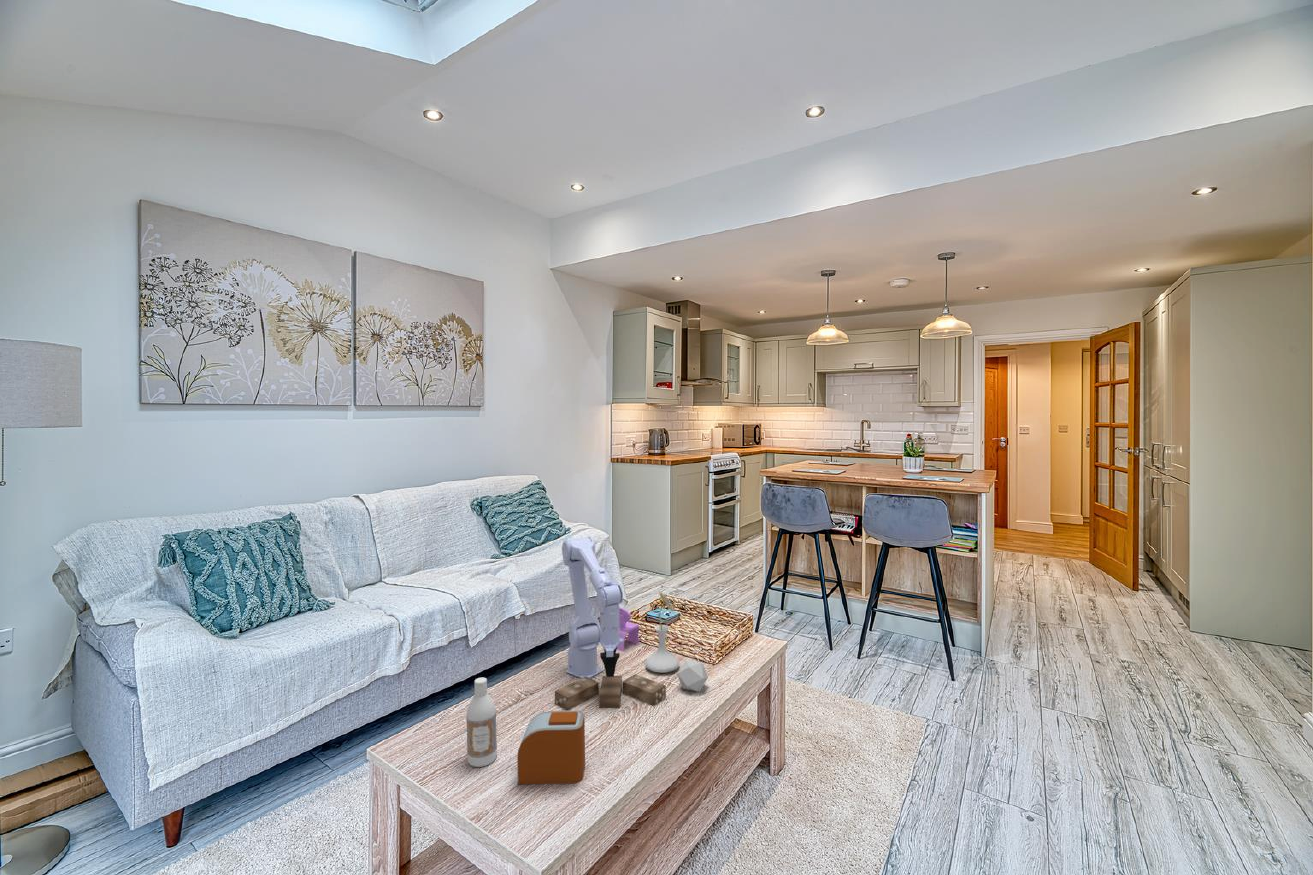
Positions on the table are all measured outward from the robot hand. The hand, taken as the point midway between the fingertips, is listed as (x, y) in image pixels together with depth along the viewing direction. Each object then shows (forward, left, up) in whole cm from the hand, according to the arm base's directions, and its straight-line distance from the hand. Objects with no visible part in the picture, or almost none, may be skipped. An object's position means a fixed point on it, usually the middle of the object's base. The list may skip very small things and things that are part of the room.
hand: (610, 670), depth 164 cm
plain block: (0, 0, -9) cm, 9 cm away
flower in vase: (+1, +25, -9) cm, 26 cm away
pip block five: (+8, +7, -9) cm, 13 cm away
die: (+17, +19, -9) cm, 27 cm away
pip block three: (-7, -7, -9) cm, 13 cm away
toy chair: (-20, +31, -9) cm, 38 cm away
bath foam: (-6, -41, -9) cm, 42 cm away
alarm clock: (+12, -34, -9) cm, 37 cm away
